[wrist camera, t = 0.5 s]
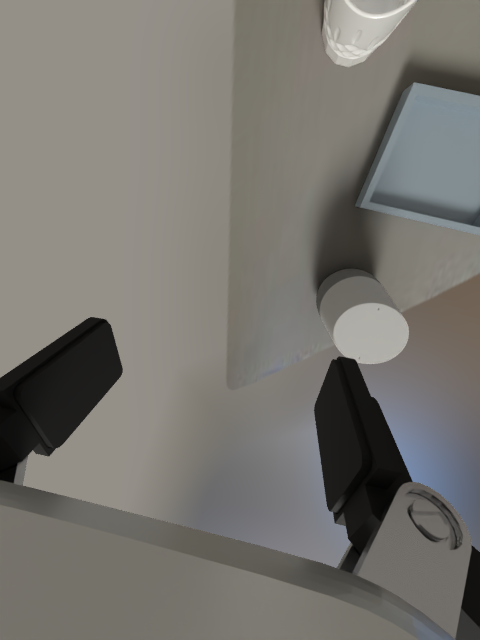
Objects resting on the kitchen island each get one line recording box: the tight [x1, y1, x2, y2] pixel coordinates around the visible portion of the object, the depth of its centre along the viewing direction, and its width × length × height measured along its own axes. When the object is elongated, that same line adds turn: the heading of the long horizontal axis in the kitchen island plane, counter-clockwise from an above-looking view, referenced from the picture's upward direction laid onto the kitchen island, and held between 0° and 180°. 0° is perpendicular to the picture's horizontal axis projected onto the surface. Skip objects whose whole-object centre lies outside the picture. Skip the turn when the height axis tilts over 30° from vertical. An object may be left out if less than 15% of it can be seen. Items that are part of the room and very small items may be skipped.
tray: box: [355, 82, 480, 235], centre depth 27 cm, size 12×16×2 cm
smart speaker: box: [316, 269, 409, 364], centre depth 31 cm, size 10×9×14 cm
